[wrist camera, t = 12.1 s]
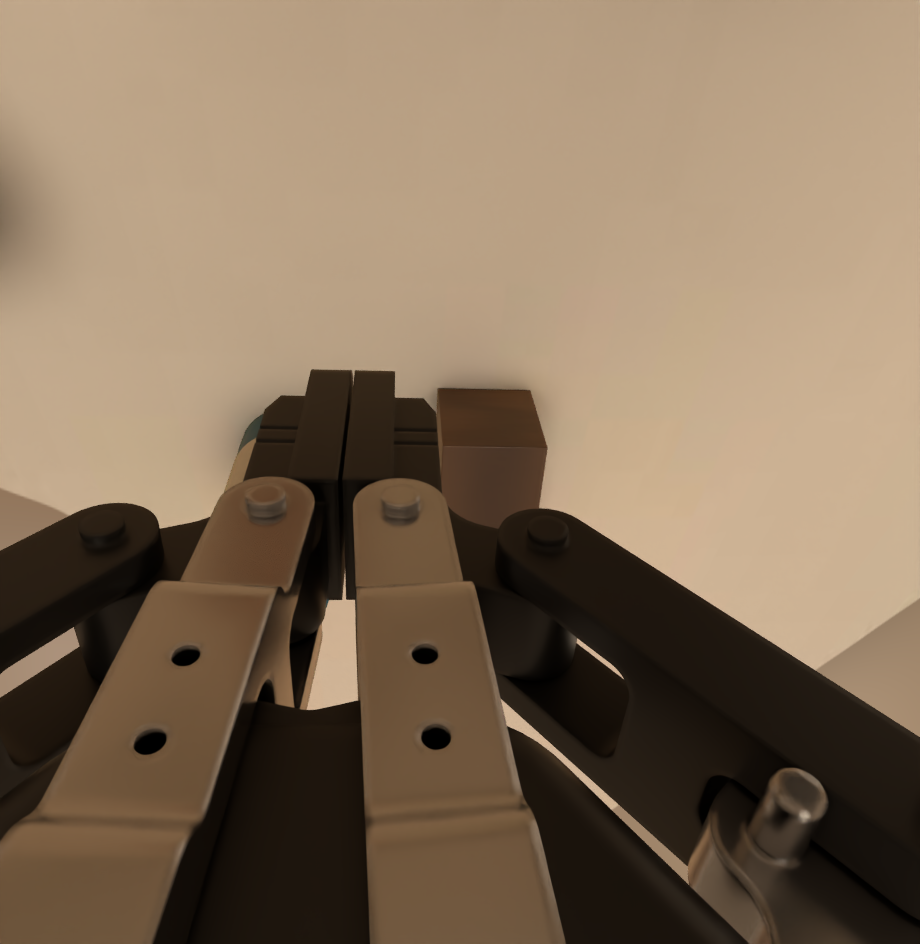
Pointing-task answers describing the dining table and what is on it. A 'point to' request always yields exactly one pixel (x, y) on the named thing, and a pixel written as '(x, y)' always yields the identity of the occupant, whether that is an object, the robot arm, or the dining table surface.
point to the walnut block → (490, 453)
